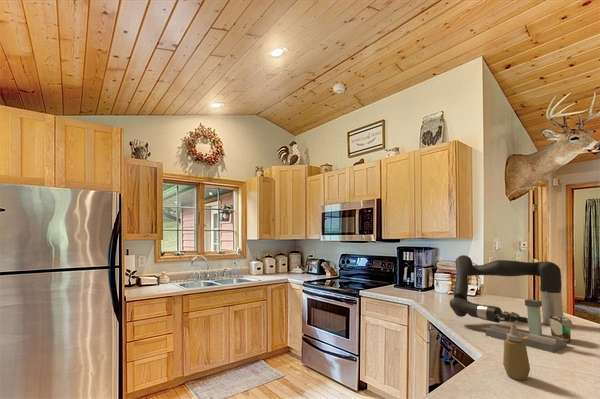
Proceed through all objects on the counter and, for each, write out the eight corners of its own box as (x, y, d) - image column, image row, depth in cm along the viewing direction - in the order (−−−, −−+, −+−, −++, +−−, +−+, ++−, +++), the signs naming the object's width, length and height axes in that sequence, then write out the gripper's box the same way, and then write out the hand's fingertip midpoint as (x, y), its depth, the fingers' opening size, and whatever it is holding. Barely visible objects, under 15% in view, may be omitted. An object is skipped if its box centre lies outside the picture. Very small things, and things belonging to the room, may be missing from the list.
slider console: (500, 330, 171) (500, 322, 172) (566, 346, 148) (566, 336, 148) (485, 335, 164) (485, 326, 164) (553, 352, 140) (552, 342, 141)
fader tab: (531, 333, 155) (529, 299, 157) (544, 336, 151) (541, 300, 152) (527, 335, 153) (524, 300, 154) (539, 338, 149) (537, 302, 150)
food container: (580, 344, 149) (578, 321, 150) (564, 343, 151) (562, 321, 151) (564, 336, 161) (562, 314, 162) (550, 335, 163) (548, 314, 164)
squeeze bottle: (498, 372, 121) (495, 321, 123) (519, 371, 122) (515, 320, 124) (514, 382, 113) (510, 328, 115) (537, 381, 114) (532, 327, 116)
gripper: (481, 307, 166) (519, 314, 152) (495, 303, 173) (533, 310, 159) (482, 322, 166) (520, 331, 151) (496, 318, 173) (534, 326, 158)
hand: (527, 320), depth 155 cm, fingers closed
